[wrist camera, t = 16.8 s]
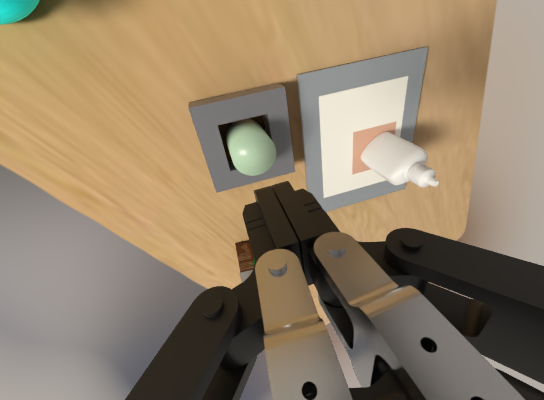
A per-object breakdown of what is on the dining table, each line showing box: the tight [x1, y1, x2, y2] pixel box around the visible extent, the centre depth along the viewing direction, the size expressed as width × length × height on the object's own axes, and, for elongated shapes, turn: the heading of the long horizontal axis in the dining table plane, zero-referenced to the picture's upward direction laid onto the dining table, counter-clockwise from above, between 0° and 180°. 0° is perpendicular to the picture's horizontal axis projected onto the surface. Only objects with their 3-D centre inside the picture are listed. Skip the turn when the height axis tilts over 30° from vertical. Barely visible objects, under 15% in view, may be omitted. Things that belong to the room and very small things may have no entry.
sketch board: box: [297, 47, 428, 212], centre depth 38 cm, size 22×18×1 cm
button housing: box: [189, 83, 295, 192], centre depth 32 cm, size 11×11×3 cm
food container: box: [235, 241, 255, 282], centre depth 42 cm, size 12×6×10 cm, turn 14°
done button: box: [226, 119, 276, 176], centre depth 31 cm, size 5×5×6 cm
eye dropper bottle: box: [360, 132, 439, 187], centre depth 34 cm, size 4×6×12 cm
